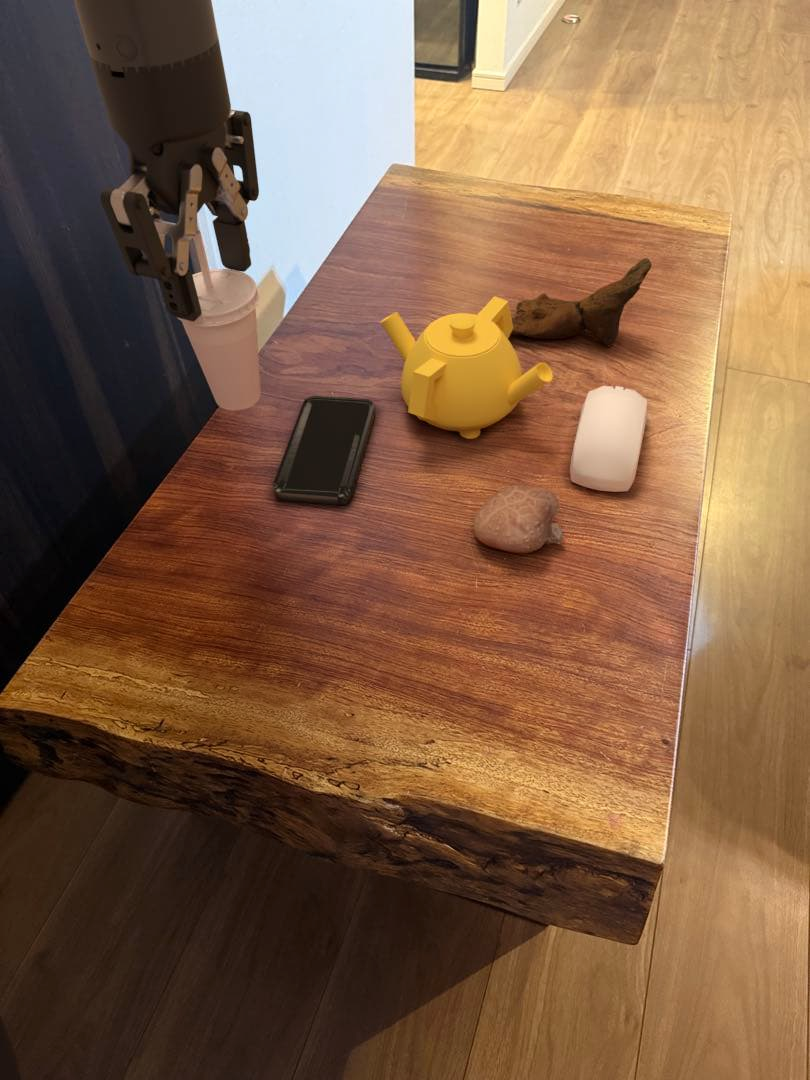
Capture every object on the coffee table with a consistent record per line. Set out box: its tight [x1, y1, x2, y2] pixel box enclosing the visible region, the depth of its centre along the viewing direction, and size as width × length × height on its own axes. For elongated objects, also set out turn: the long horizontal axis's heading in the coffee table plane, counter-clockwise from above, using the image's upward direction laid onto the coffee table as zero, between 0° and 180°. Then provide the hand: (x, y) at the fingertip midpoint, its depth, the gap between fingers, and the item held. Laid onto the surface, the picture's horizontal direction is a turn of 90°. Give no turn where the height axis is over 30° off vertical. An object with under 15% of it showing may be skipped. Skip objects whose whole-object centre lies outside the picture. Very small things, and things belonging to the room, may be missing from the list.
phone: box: [272, 395, 376, 506], centre depth 86 cm, size 8×1×15 cm
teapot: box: [380, 295, 554, 440], centre depth 87 cm, size 20×18×11 cm
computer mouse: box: [569, 385, 648, 493], centre depth 83 cm, size 6×13×6 cm, turn 163°
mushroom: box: [472, 484, 565, 554], centre depth 77 cm, size 8×6×8 cm
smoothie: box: [177, 229, 262, 411], centre depth 63 cm, size 6×6×14 cm
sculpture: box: [510, 257, 652, 347], centre depth 96 cm, size 8×10×15 cm
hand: (212, 291), depth 61 cm, fingers closed on smoothie, 6 cm apart
